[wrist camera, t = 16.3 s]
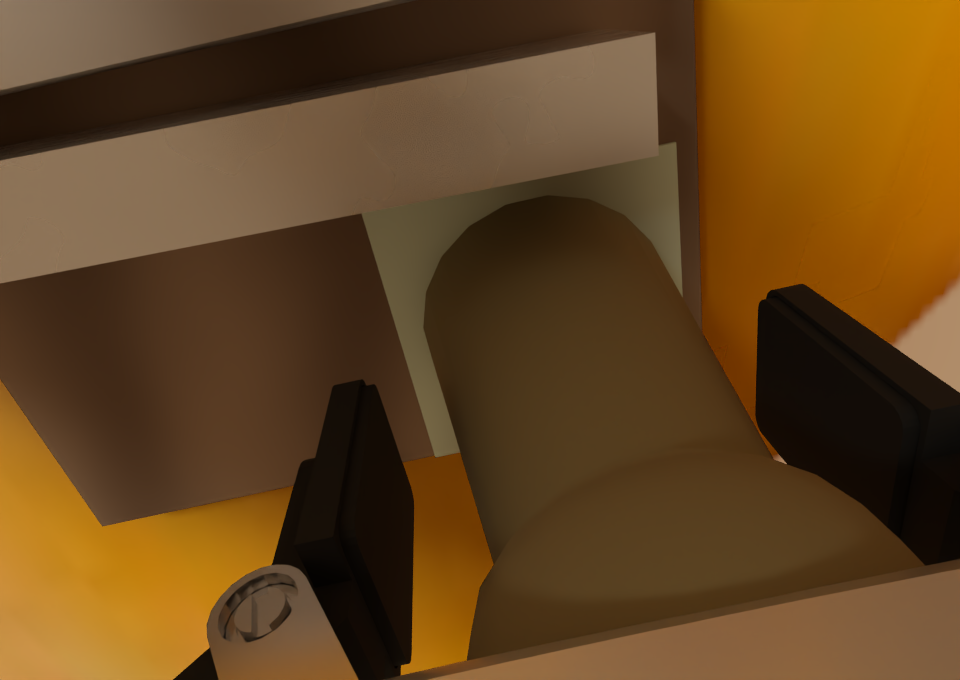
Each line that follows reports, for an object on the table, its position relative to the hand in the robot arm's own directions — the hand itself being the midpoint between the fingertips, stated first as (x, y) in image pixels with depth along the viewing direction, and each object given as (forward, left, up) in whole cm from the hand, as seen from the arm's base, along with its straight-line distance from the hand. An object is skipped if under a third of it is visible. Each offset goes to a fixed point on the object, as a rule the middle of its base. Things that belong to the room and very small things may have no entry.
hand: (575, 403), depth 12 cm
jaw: (-5, +5, -3) cm, 8 cm away
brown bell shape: (0, 0, -4) cm, 4 cm away
